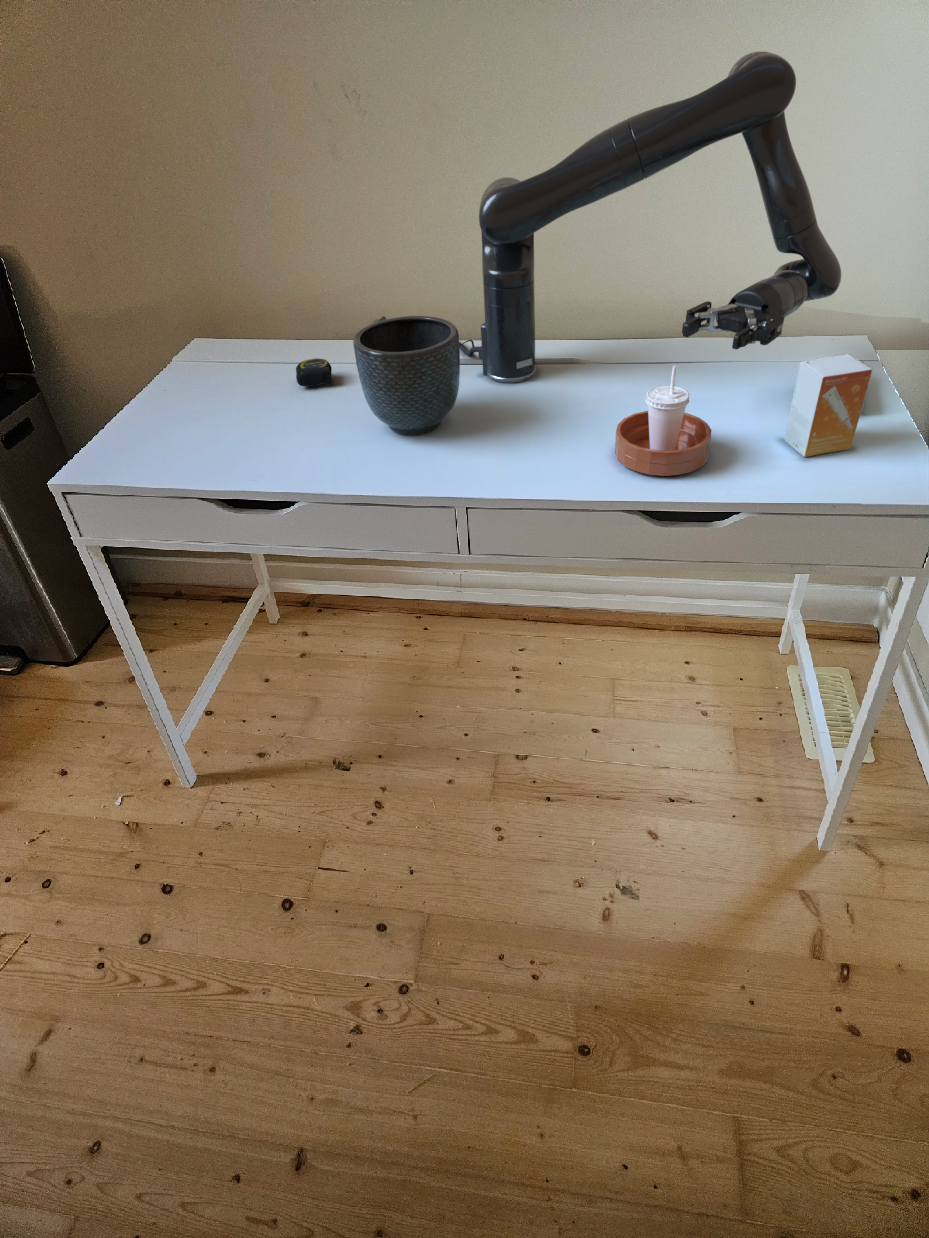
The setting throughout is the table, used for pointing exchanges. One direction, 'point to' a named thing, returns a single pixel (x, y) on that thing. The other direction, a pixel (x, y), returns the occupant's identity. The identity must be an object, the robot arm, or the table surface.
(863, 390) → the small box
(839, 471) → the table surface
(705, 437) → the bowl
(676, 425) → the smoothie
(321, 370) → the tape measure
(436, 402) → the planter
